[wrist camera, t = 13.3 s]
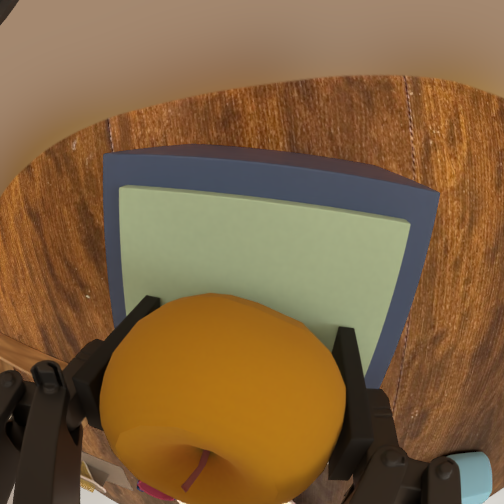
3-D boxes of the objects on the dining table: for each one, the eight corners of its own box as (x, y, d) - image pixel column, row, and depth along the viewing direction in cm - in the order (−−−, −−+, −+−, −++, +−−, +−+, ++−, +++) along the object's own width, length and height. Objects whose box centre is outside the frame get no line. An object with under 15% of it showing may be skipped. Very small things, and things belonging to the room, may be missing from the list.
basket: (-3, 330, 42) (-20, 344, 38) (74, 365, 40) (56, 385, 36) (17, 381, 47) (3, 395, 42) (91, 418, 45) (78, 437, 40)
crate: (192, 143, 27) (102, 153, 14) (375, 165, 25) (441, 192, 12) (187, 303, 33) (126, 395, 20) (342, 326, 31) (356, 436, 18)
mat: (126, 184, 14) (118, 187, 14) (405, 219, 13) (411, 224, 12) (143, 386, 19) (138, 394, 18) (341, 421, 18) (341, 430, 17)
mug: (194, 470, 45) (184, 500, 39) (156, 473, 48) (144, 500, 42) (169, 449, 44) (155, 480, 37) (132, 453, 47) (118, 480, 40)
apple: (347, 257, 13) (394, 424, 5) (321, 400, 16) (317, 546, 8) (155, 244, 14) (21, 356, 6) (173, 382, 17) (109, 505, 9)
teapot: (419, 449, 36) (431, 509, 26) (497, 443, 35) (514, 490, 24) (384, 486, 41) (389, 539, 30) (460, 480, 39) (471, 524, 29)
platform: (55, 438, 52) (41, 456, 46) (121, 467, 50) (109, 490, 44) (71, 464, 56) (60, 482, 50) (133, 491, 54) (123, 511, 48)
